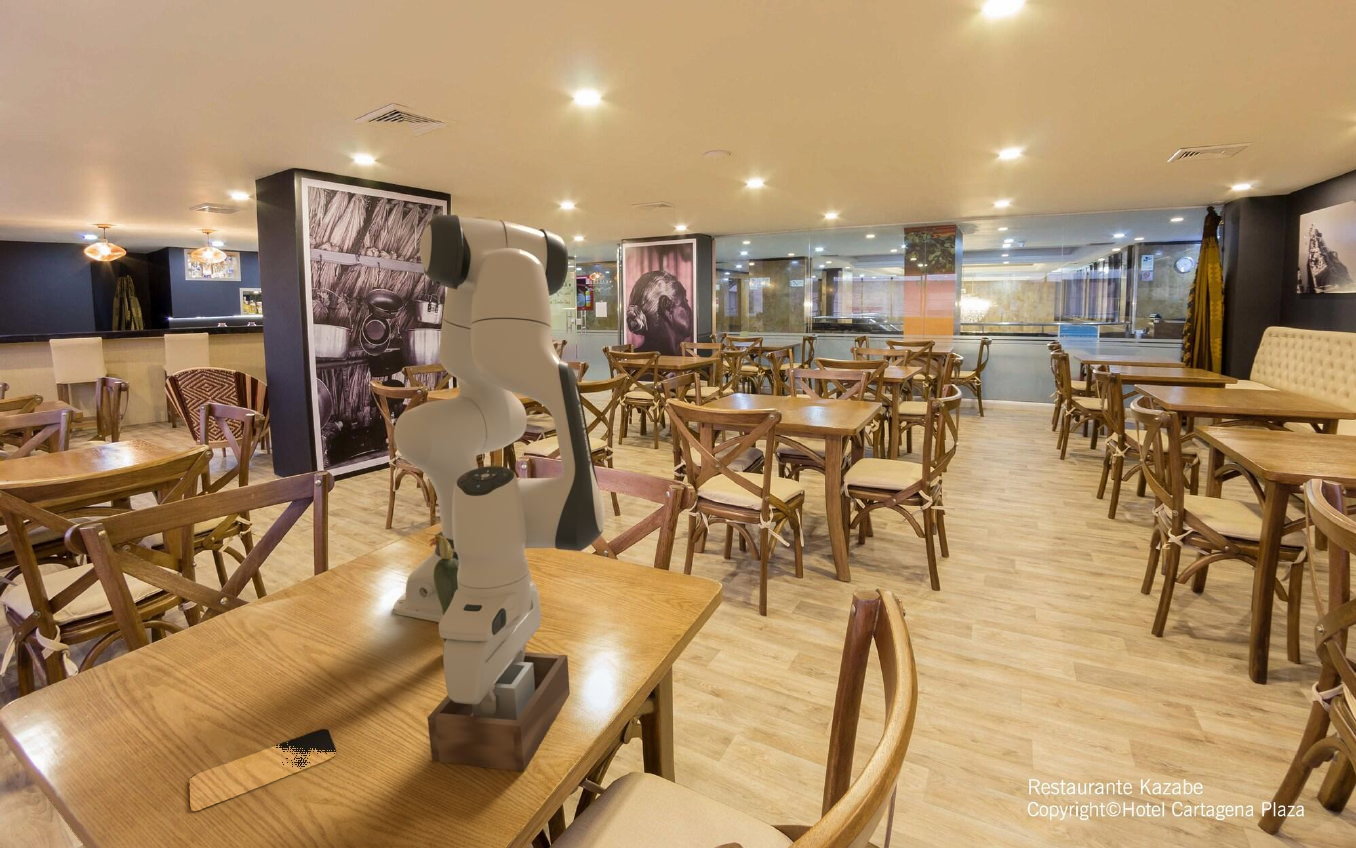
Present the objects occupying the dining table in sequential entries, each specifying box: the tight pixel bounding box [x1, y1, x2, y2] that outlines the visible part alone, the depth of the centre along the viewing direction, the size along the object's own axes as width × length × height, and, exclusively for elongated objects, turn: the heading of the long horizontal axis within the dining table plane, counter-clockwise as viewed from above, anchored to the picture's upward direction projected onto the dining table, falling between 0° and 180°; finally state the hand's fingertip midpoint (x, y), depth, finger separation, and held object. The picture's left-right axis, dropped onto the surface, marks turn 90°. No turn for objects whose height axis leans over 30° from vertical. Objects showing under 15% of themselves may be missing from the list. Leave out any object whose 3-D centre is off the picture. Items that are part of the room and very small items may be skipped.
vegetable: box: [433, 535, 459, 643], centre depth 104 cm, size 4×4×20 cm
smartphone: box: [275, 728, 337, 769], centre depth 81 cm, size 7×1×15 cm
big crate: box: [426, 651, 570, 772], centre depth 87 cm, size 12×16×6 cm
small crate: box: [472, 661, 535, 720], centre depth 87 cm, size 6×6×5 cm
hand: (503, 693), depth 87 cm, fingers closed on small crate, 6 cm apart
